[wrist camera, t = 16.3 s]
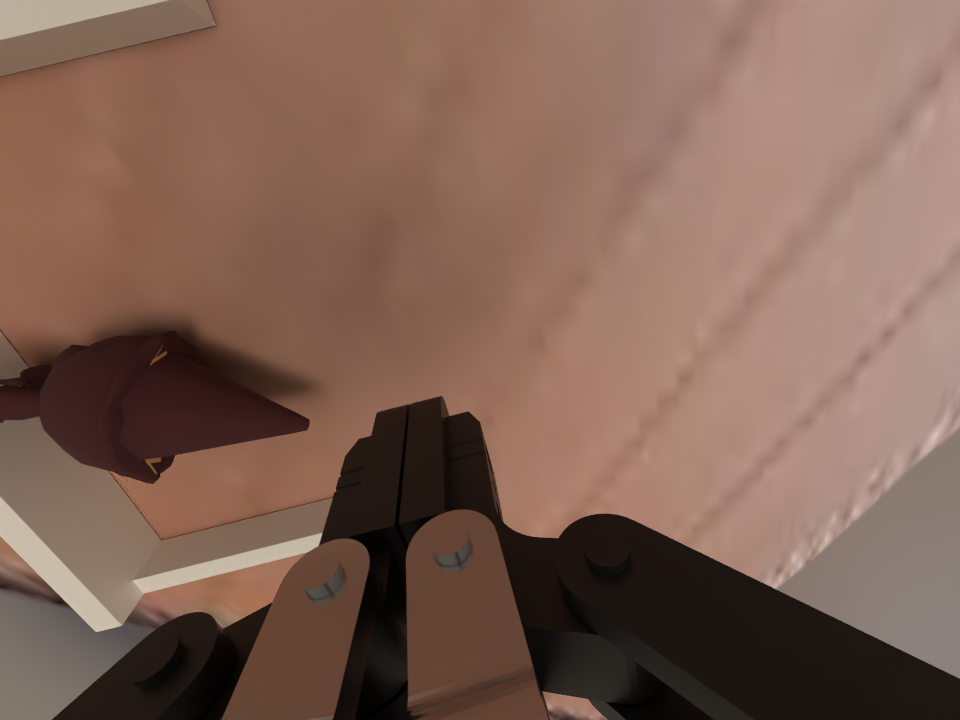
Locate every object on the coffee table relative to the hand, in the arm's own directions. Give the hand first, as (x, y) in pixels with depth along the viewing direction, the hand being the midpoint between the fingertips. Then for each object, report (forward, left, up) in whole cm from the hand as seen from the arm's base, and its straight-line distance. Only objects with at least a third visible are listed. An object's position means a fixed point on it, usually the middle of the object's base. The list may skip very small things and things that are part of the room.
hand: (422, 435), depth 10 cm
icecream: (+14, +2, -15) cm, 21 cm away
